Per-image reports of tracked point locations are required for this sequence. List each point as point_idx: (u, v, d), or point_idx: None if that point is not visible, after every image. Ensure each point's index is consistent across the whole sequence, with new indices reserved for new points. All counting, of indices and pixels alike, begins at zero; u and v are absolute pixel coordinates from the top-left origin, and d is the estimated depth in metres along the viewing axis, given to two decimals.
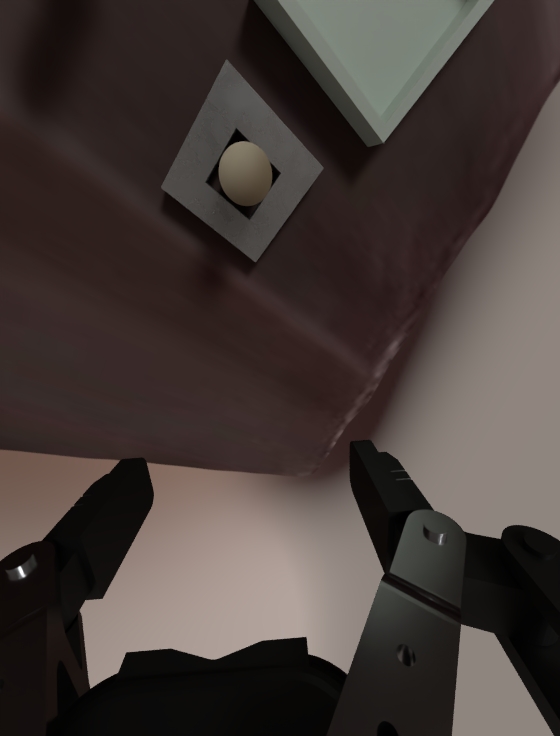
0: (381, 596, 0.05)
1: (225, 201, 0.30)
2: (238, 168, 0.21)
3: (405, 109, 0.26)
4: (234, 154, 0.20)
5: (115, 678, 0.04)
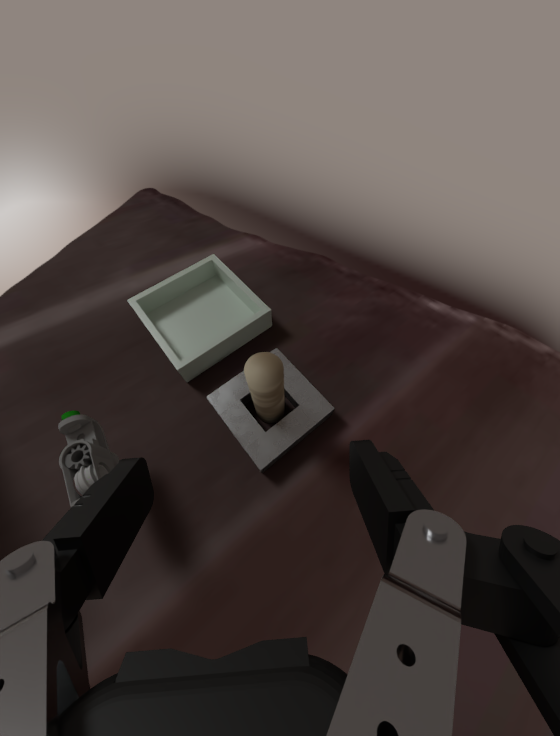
0: (381, 596, 0.05)
1: (281, 420, 0.35)
2: (258, 372, 0.28)
3: (257, 299, 0.43)
4: (250, 373, 0.28)
5: (115, 678, 0.04)
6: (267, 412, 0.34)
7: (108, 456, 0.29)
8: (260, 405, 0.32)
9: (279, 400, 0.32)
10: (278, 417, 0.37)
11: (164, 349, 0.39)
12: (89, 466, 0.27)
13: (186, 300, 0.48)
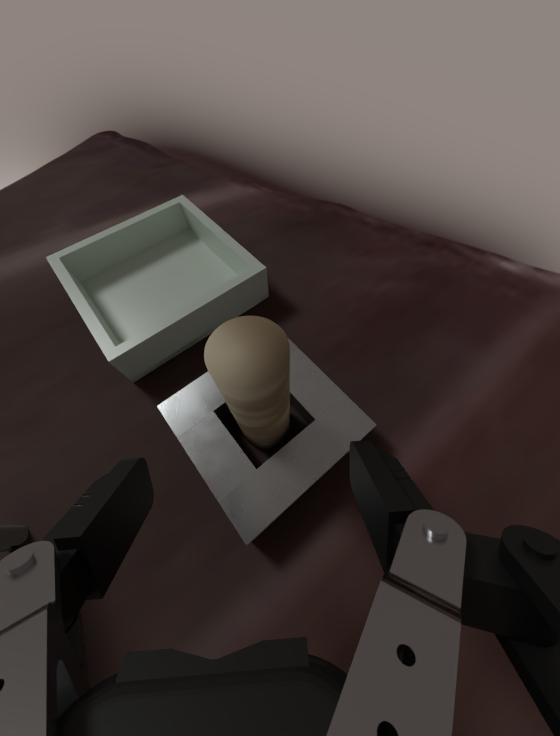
0: (381, 596, 0.05)
1: (285, 447, 0.20)
2: (235, 358, 0.13)
3: (245, 253, 0.28)
4: (216, 359, 0.13)
5: (115, 678, 0.04)
6: (258, 435, 0.19)
7: None
8: (245, 424, 0.17)
9: (281, 414, 0.17)
10: (279, 440, 0.22)
11: (92, 328, 0.24)
12: None
13: (142, 262, 0.33)
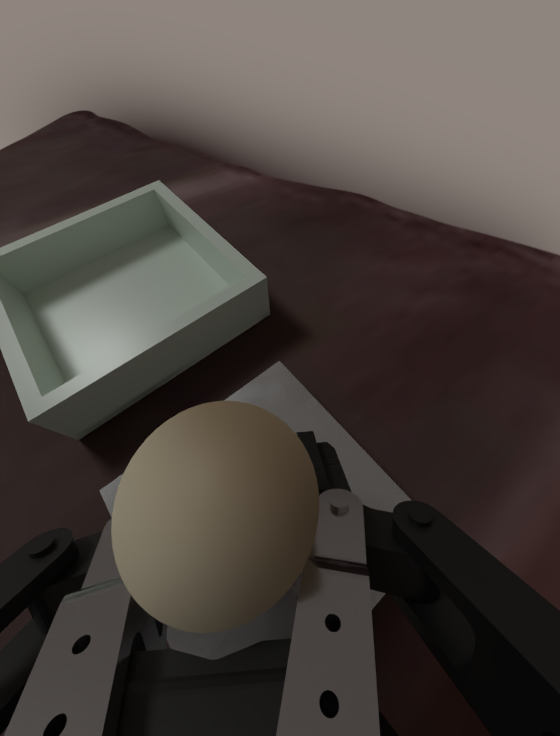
0: (305, 579, 0.05)
1: None
2: (185, 523, 0.05)
3: (238, 256, 0.20)
4: (141, 525, 0.05)
5: None
6: None
7: None
8: None
9: None
10: None
11: (12, 367, 0.16)
12: None
13: (106, 267, 0.25)
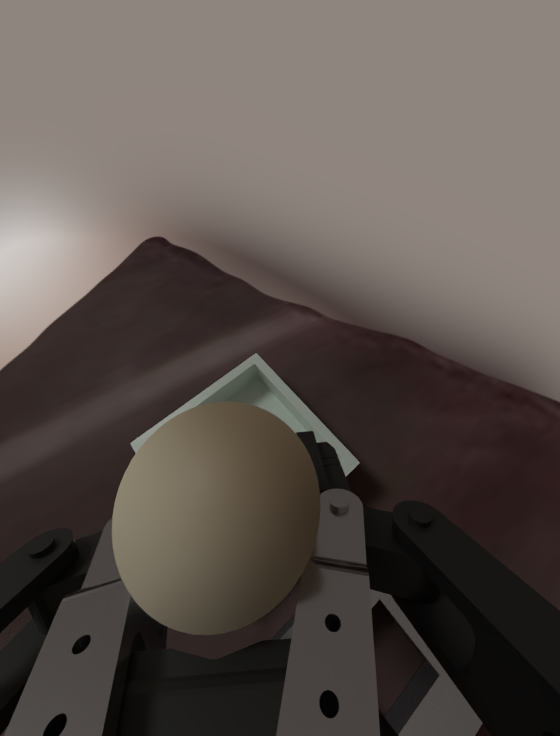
0: (305, 579, 0.05)
1: (414, 716, 0.19)
2: (186, 524, 0.05)
3: (335, 440, 0.27)
4: (142, 527, 0.05)
5: None
6: None
7: None
8: None
9: None
10: None
11: None
12: None
13: None
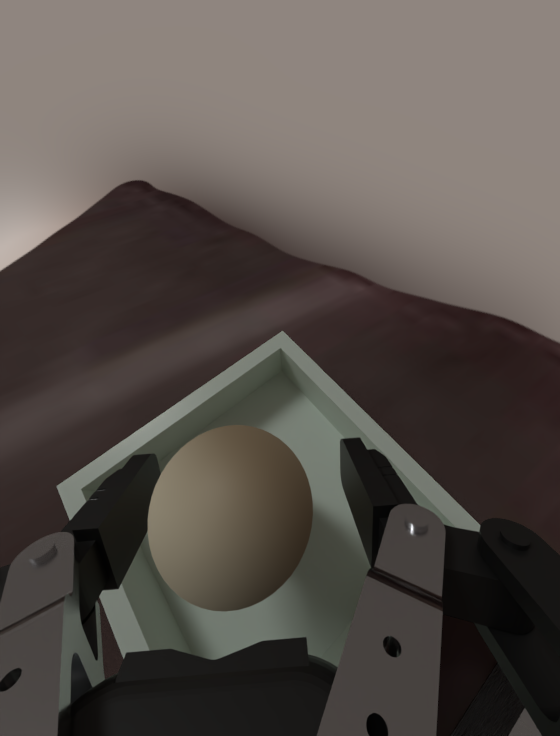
0: (367, 591, 0.05)
1: None
2: (206, 526, 0.07)
3: (436, 489, 0.15)
4: (171, 528, 0.07)
5: (115, 678, 0.04)
6: None
7: None
8: None
9: None
10: None
11: None
12: None
13: None
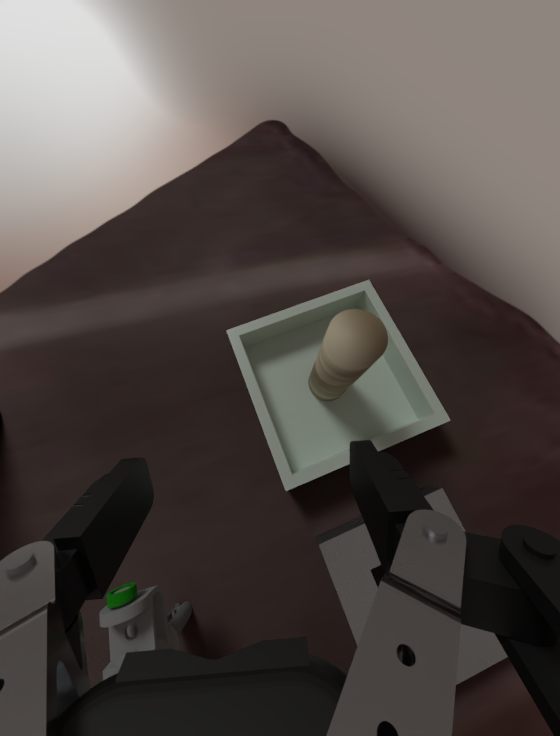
0: (381, 596, 0.05)
1: None
2: (348, 339, 0.18)
3: (430, 391, 0.26)
4: (335, 336, 0.18)
5: (115, 678, 0.04)
6: (328, 390, 0.25)
7: None
8: (326, 381, 0.23)
9: (353, 381, 0.23)
10: (336, 397, 0.28)
11: (271, 443, 0.25)
12: None
13: (305, 339, 0.31)
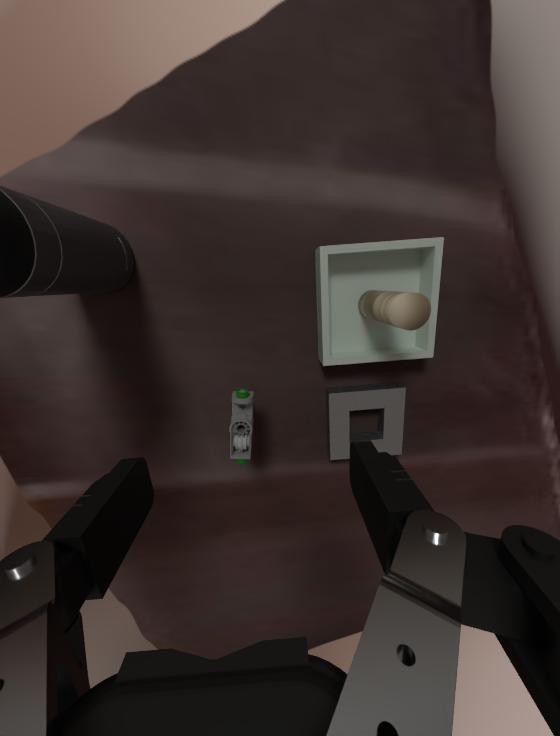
0: (381, 596, 0.05)
1: None
2: (406, 312, 0.30)
3: (432, 337, 0.40)
4: (400, 308, 0.30)
5: (115, 678, 0.04)
6: (373, 318, 0.38)
7: None
8: (376, 316, 0.35)
9: None
10: None
11: (324, 338, 0.39)
12: (245, 437, 0.37)
13: (370, 265, 0.40)
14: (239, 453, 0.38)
